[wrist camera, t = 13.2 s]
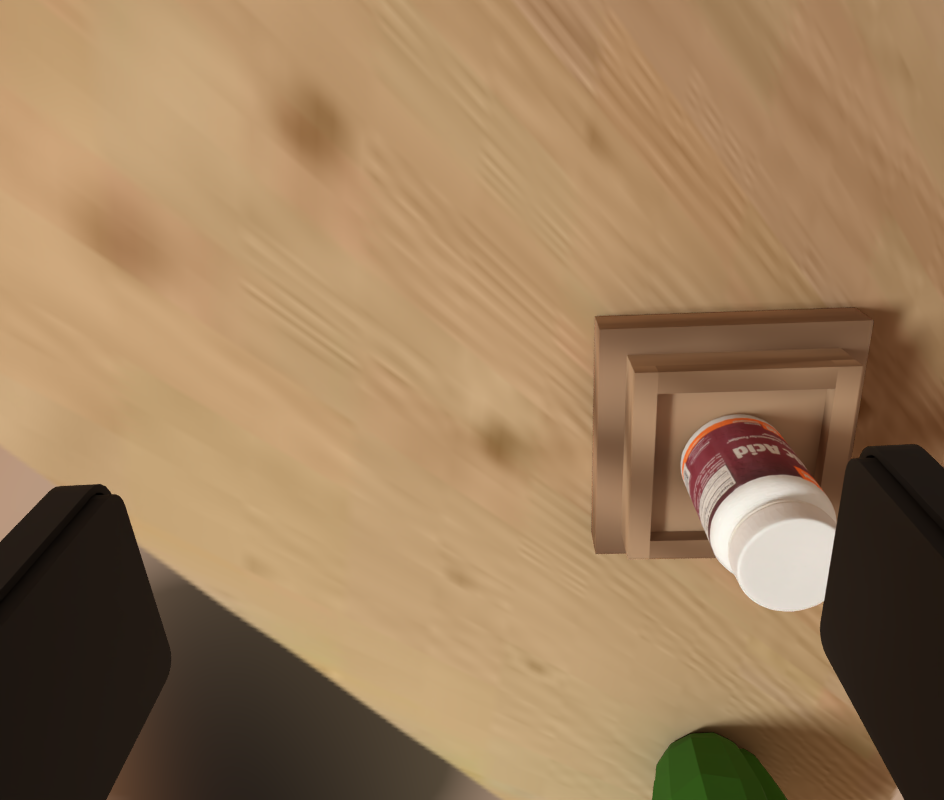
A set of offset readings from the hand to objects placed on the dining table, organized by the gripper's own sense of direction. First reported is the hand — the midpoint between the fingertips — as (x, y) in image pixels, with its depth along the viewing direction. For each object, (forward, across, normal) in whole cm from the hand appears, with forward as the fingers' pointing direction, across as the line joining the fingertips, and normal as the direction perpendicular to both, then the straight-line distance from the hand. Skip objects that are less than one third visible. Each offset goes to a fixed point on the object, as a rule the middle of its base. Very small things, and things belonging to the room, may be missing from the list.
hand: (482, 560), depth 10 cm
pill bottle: (+23, -10, +12) cm, 28 cm away
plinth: (+26, -11, +12) cm, 31 cm away
